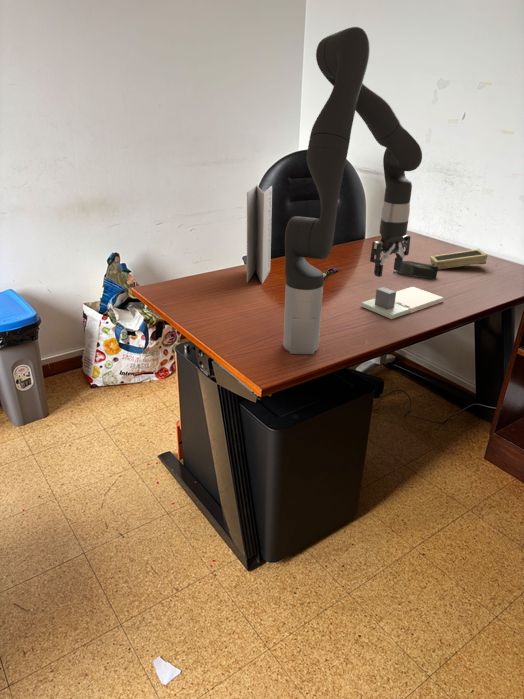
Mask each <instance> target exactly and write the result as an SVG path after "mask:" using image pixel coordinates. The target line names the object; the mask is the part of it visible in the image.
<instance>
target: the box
mask: <svg viewBox="0 0 524 699" xmlns="http://www.w3.org/2000/svg"><path fill="white" fill-rule="evenodd" d="M429 258H430V263H428V264H429V265H434V266H438V271H439V270H444V269H451V268H459V267H461V268H462V269H464V268H465V267H468V266H470V265H471V266H472V265H473V266H474V265H485V264H487V259H488V254H486V253H485V252H484V251H483V250H481V249H480V248H477V249H473V250H464V251H458V252H457V251H456V252H451V253H450V252H449V253H444V254H438V255H431V256H429Z"/></svg>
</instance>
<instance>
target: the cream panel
mask: <svg viewBox="0 0 524 699" xmlns="http://www.w3.org/2000/svg"><path fill="white" fill-rule="evenodd" d="M443 302H444V297H443V296H441V295H437V294H435V293H432V292H429V291H426V290H423V289H422V288H418V287H415V286H410V287H407V288H403V289H401V290H397V291H396V297H395V303H396V304H398V305H401V306H403V307H406V308H408V309H410V310H409V313H408V314H411V313H415V312H417V311H420V310H423V309H425V308H429V307H432V306H434V305H438V304H440V303H443Z"/></svg>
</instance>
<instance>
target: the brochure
mask: <svg viewBox="0 0 524 699" xmlns="http://www.w3.org/2000/svg"><path fill="white" fill-rule="evenodd" d="M272 203H273V185H271V186H269V188H267V189H266V190H265V191H263V190H262V188H260V187H259V185H258V184H256V185H255V186H253V187H252V188H251V189H249V190H248V191H247V192H246V283H249V281H250V279H251V278H252V277H253V275H254V274H255V272H256V274H257V276H258V279H259V281H260V283H261V284H264V282H265V280H266V279H267V277H268V276H269V274H270V272H271V256H272V255H271V253H272V251H271V250H272V249H271V248H272V245H271V244H272V216H273V215H272V214H273V213H272V212H273V211H272V210H273V209H272V208H273V204H272Z"/></svg>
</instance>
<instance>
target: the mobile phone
mask: <svg viewBox="0 0 524 699" xmlns="http://www.w3.org/2000/svg"><path fill="white" fill-rule="evenodd" d="M429 264H430V263H422V262H417V261H413V260H403V261H402V267H401V270H400V271H396V270H393V271H392V272H393V273H394V274H398V275H405V276H411V277H417V278H422V279H429V280H435V279H436V278H437V276H438V275H437V274H438V271H439V270H438V266H434V265H429Z"/></svg>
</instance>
